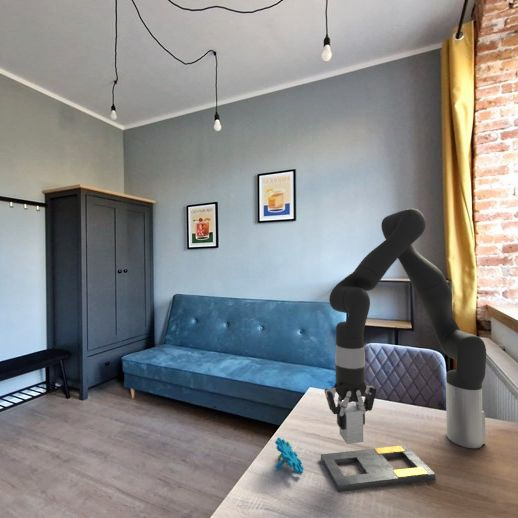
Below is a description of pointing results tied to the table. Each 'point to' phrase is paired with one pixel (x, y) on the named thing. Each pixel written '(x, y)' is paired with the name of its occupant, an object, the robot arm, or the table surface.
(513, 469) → the table surface
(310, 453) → the table surface
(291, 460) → the gear
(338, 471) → the fixture plate
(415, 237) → the robot arm
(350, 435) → the steel block
